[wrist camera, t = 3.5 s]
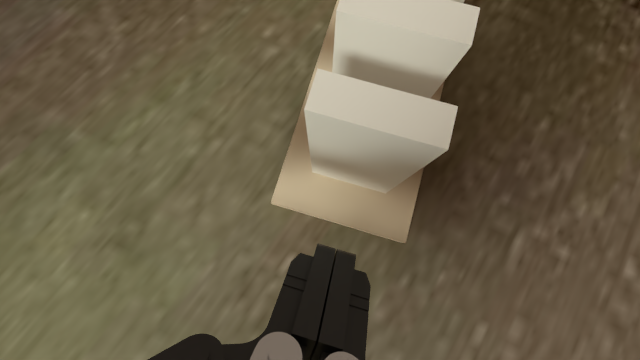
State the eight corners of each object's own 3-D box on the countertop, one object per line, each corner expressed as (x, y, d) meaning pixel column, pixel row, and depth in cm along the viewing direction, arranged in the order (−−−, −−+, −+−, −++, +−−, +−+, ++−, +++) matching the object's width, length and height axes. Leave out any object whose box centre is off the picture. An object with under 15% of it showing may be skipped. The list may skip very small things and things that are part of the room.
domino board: (401, 242, 20) (405, 243, 19) (273, 204, 21) (270, 202, 20) (469, -39, 24) (475, -50, 23) (361, -65, 25) (362, -78, 24)
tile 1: (385, 193, 20) (448, 149, 10) (312, 172, 20) (304, 109, 10) (391, 170, 20) (458, 106, 10) (319, 149, 21) (317, 68, 11)
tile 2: (400, 137, 21) (471, 45, 11) (329, 117, 21) (336, 10, 11) (405, 115, 21) (480, 7, 11) (335, 96, 21) (348, -26, 11)
